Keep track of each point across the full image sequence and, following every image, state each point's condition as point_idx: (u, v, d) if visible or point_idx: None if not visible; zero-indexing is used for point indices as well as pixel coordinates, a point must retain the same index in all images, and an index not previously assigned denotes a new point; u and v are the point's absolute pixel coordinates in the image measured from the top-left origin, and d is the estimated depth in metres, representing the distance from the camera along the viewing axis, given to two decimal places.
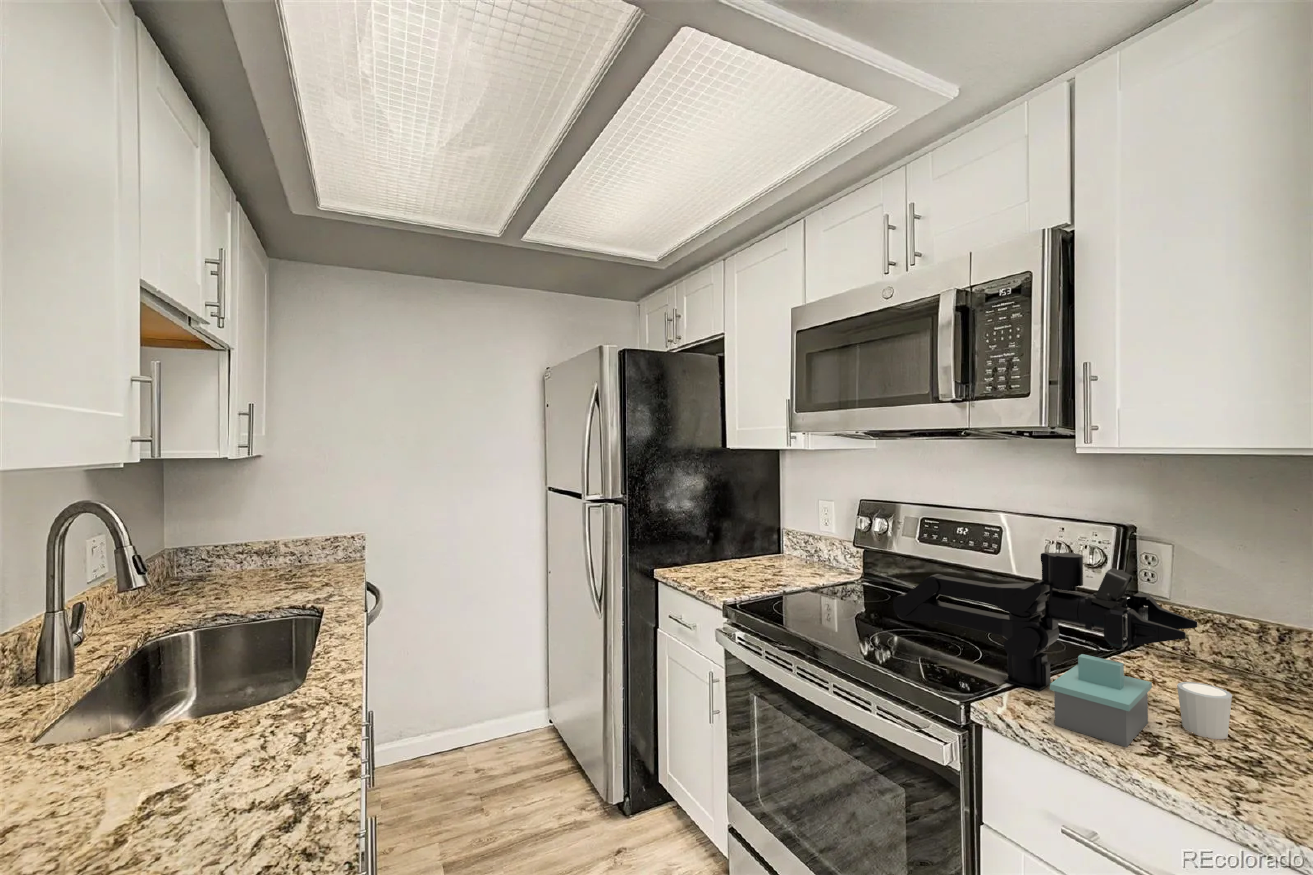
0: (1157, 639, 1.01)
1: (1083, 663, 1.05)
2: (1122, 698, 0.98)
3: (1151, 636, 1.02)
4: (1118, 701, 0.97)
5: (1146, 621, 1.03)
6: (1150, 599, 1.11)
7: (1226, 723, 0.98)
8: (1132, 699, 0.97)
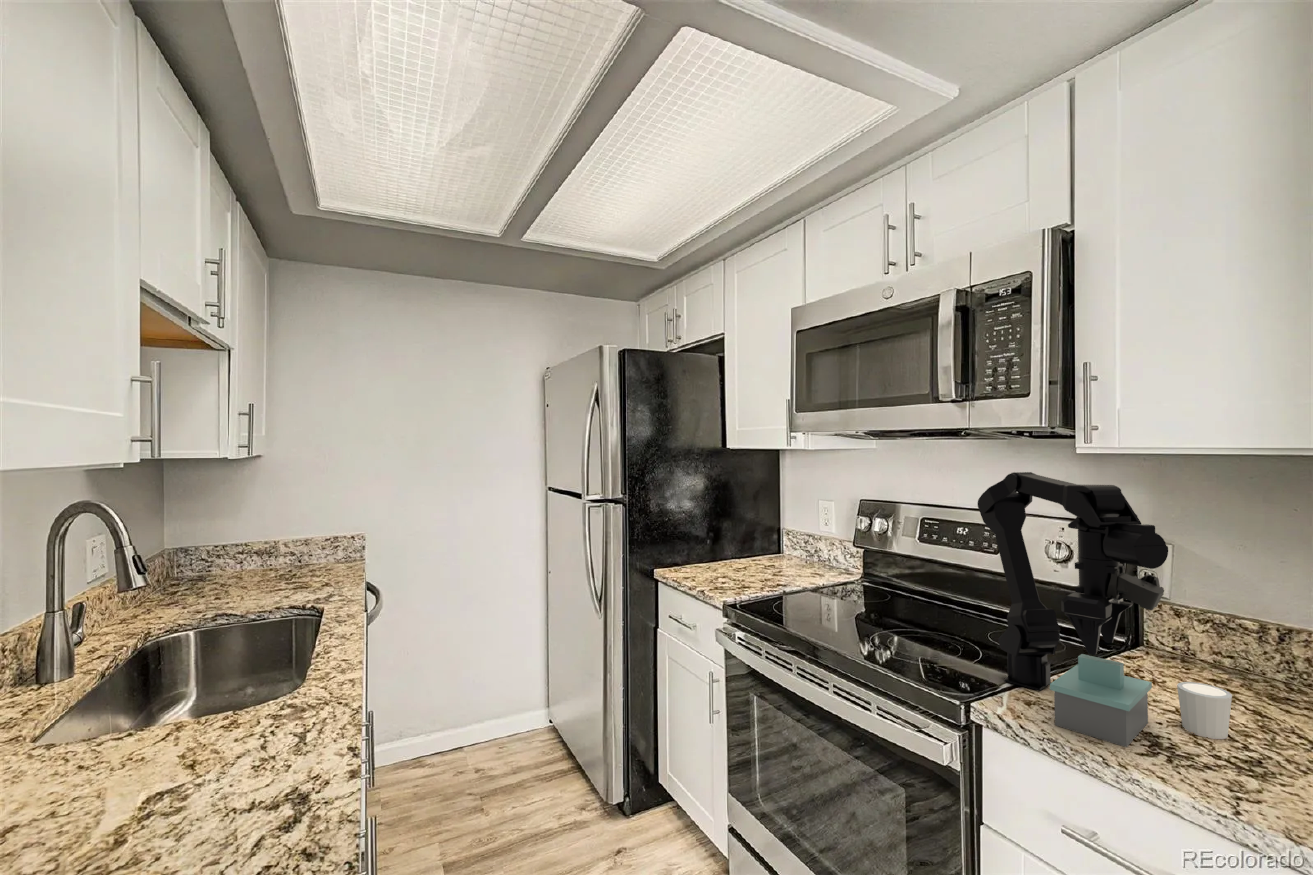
0: (1080, 633, 1.01)
1: (1083, 663, 1.05)
2: (1122, 698, 0.98)
3: (1082, 629, 1.01)
4: (1118, 701, 0.97)
5: (1099, 628, 0.99)
6: (1129, 606, 1.06)
7: (1226, 723, 0.98)
8: (1132, 699, 0.97)
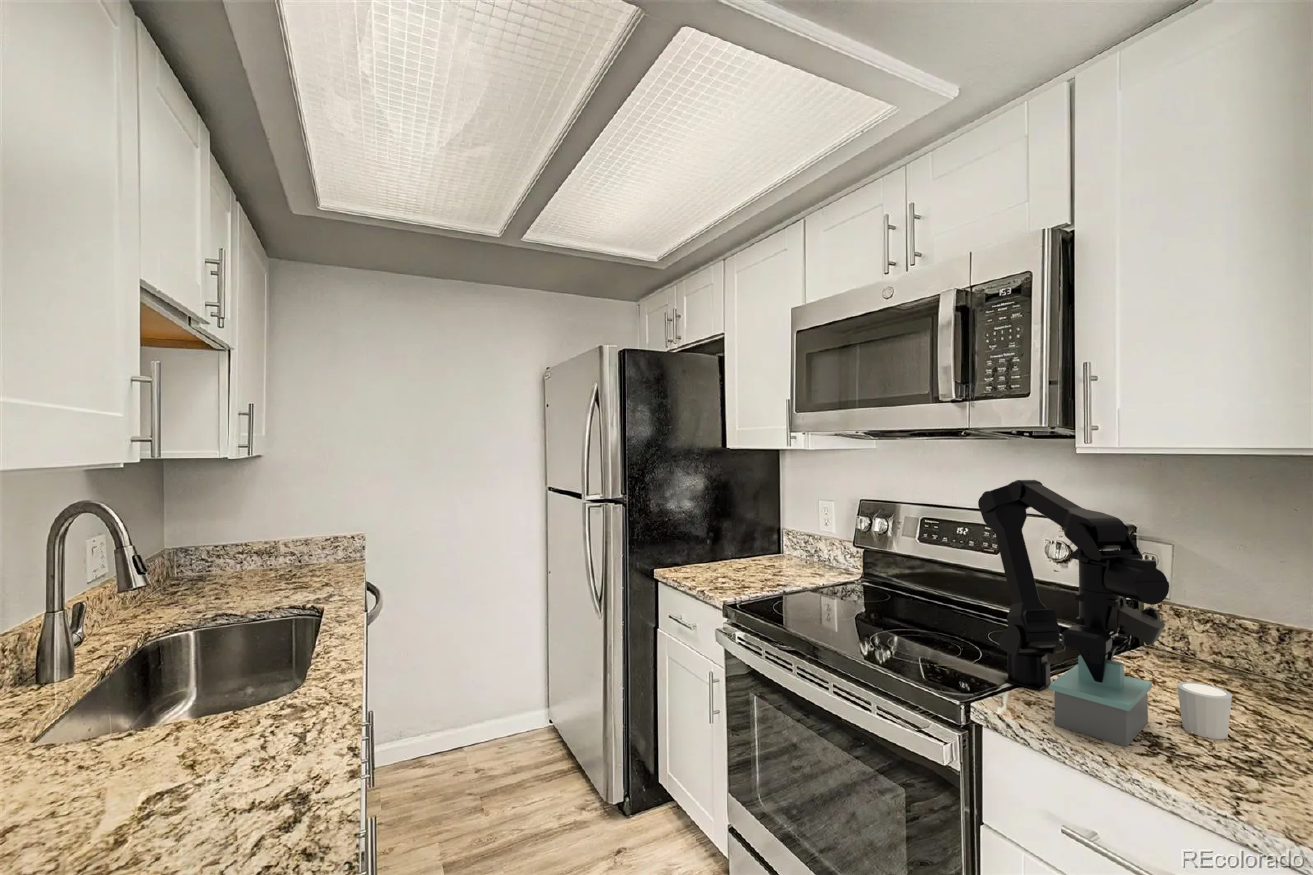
0: (1087, 661, 1.04)
1: (1083, 663, 1.05)
2: (1122, 698, 0.98)
3: (1089, 657, 1.03)
4: (1118, 701, 0.97)
5: (1106, 657, 1.02)
6: None
7: (1226, 723, 0.98)
8: (1132, 699, 0.97)
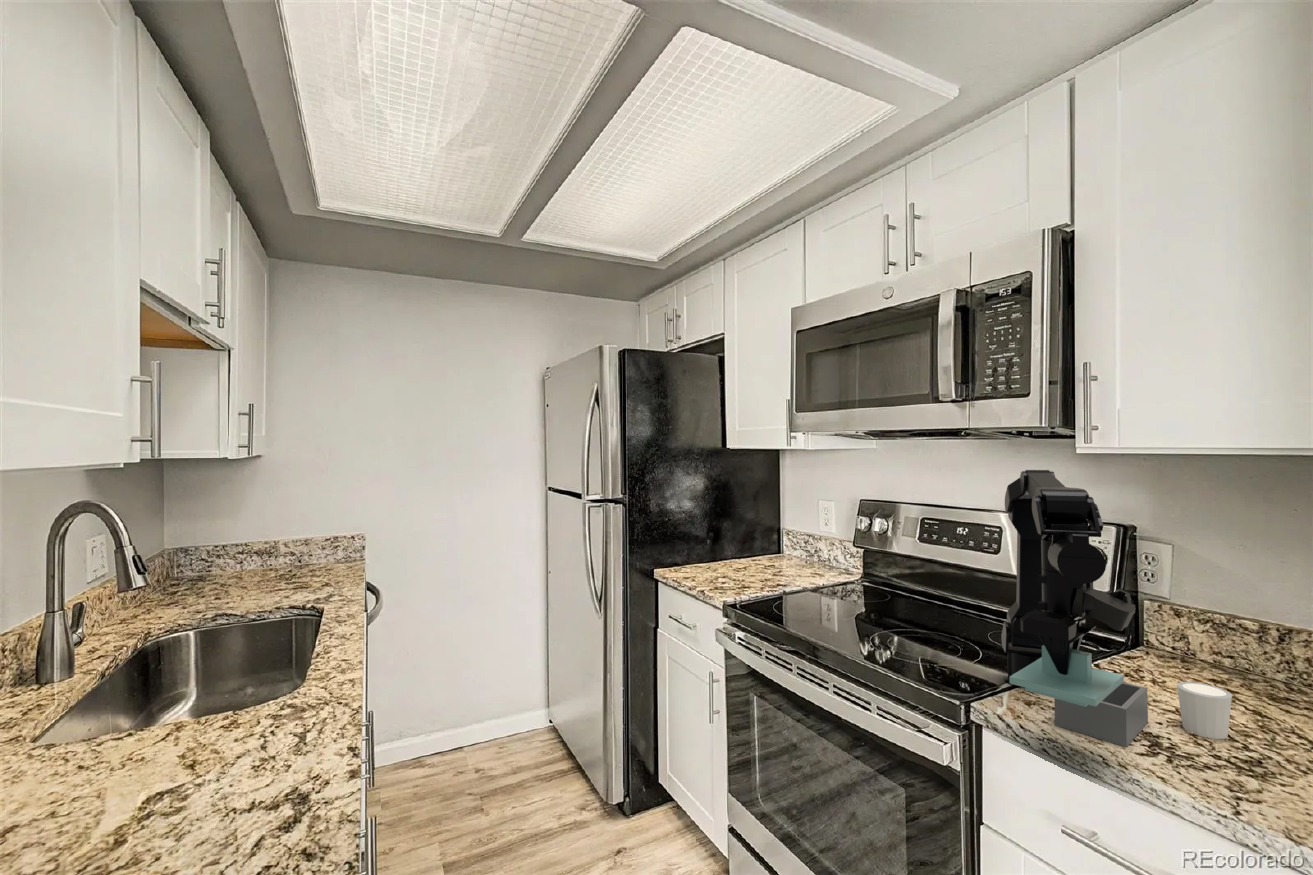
0: (1050, 651, 0.92)
1: (1047, 653, 0.94)
2: (1088, 692, 0.86)
3: (1052, 646, 0.92)
4: (1084, 695, 0.85)
5: (1070, 646, 0.90)
6: (1091, 629, 0.92)
7: (1226, 723, 0.98)
8: (1100, 693, 0.86)
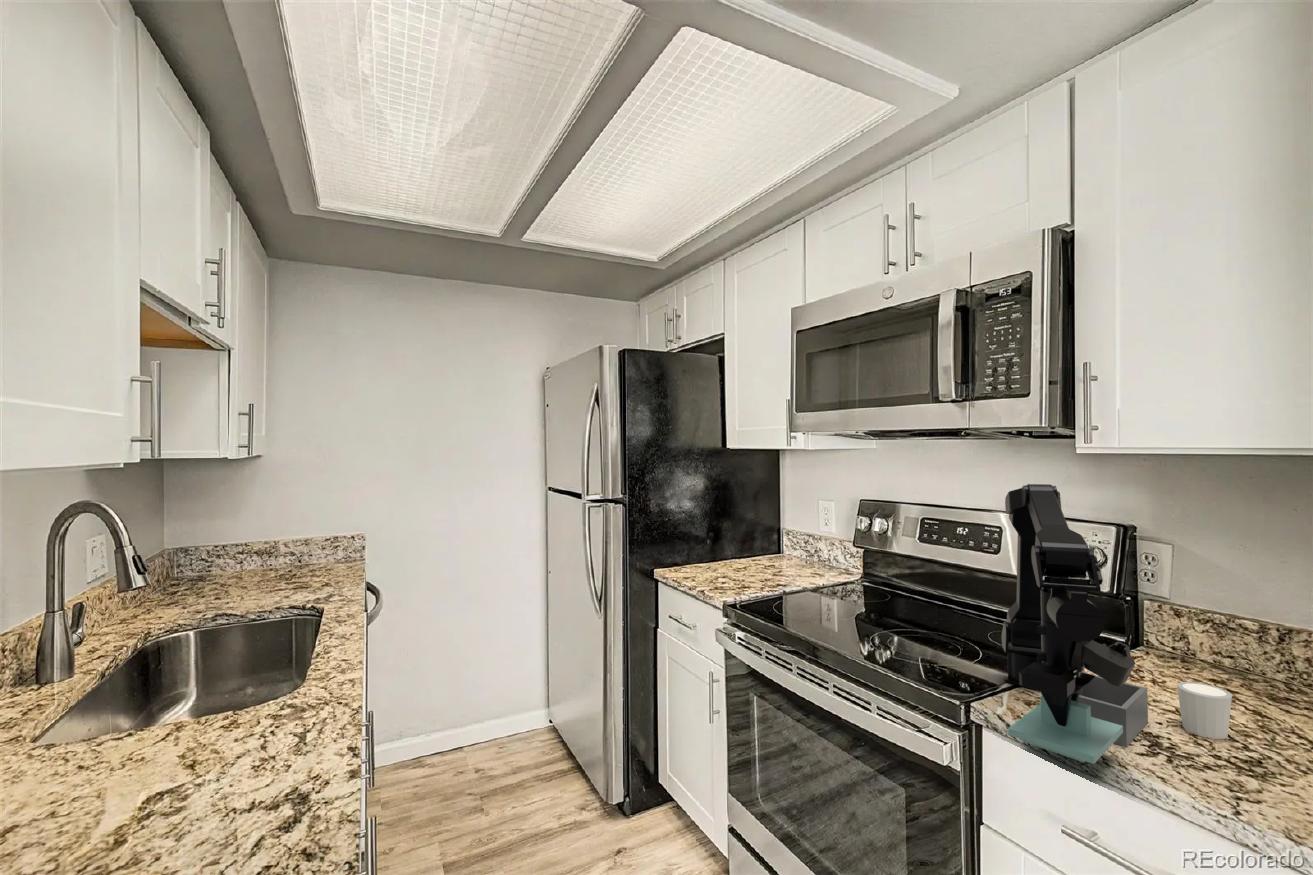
0: (1049, 702, 0.92)
1: (1046, 704, 0.94)
2: (1087, 748, 0.86)
3: (1051, 698, 0.92)
4: (1082, 751, 0.85)
5: (1069, 698, 0.90)
6: (1090, 681, 0.92)
7: (1226, 723, 0.98)
8: (1098, 749, 0.86)
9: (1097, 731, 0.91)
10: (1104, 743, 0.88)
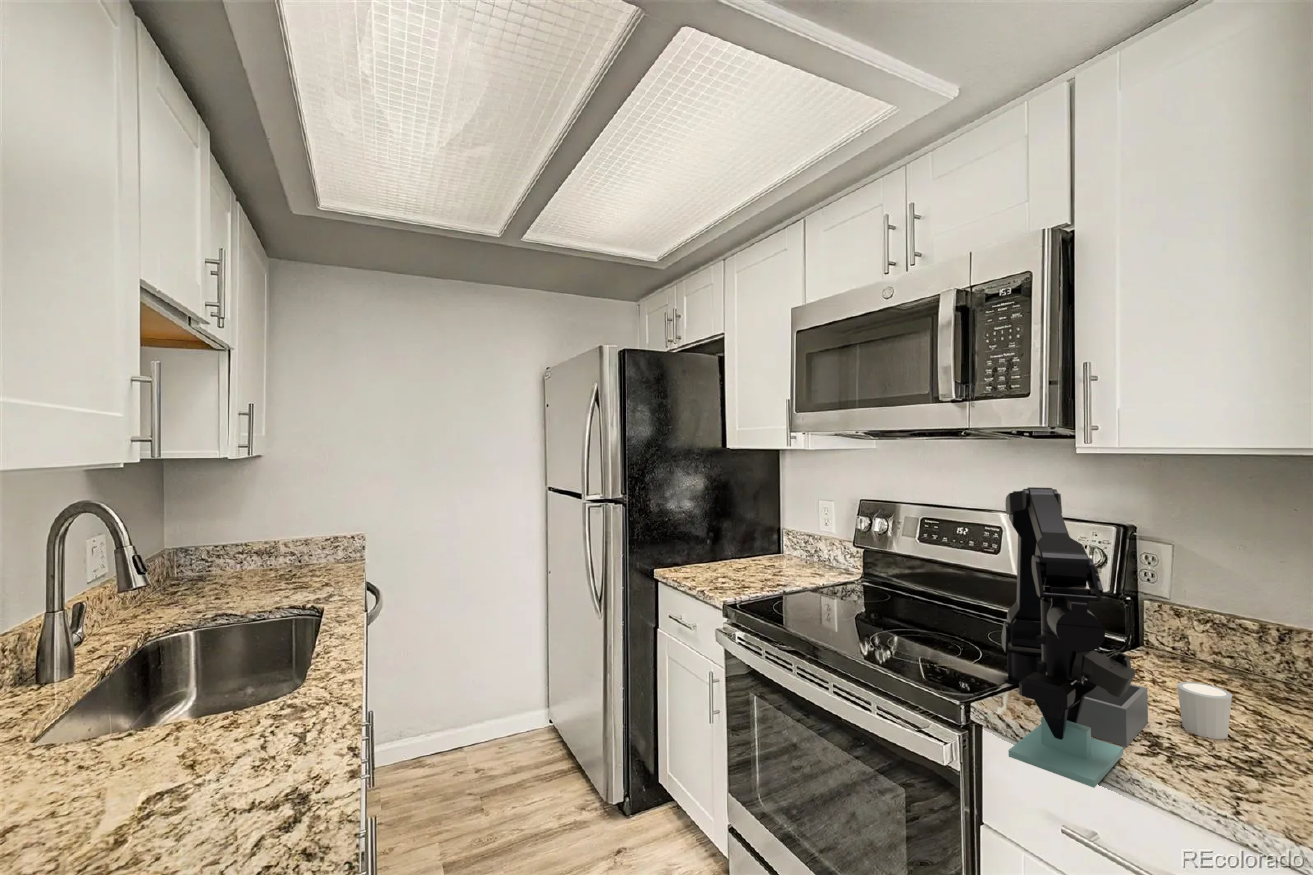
0: (1045, 715, 0.91)
1: (1046, 725, 0.94)
2: (1087, 771, 0.86)
3: (1048, 711, 0.91)
4: (1082, 775, 0.85)
5: (1066, 711, 0.89)
6: None
7: (1226, 723, 0.98)
8: (1099, 772, 0.86)
9: (1097, 753, 0.91)
10: (1104, 766, 0.87)
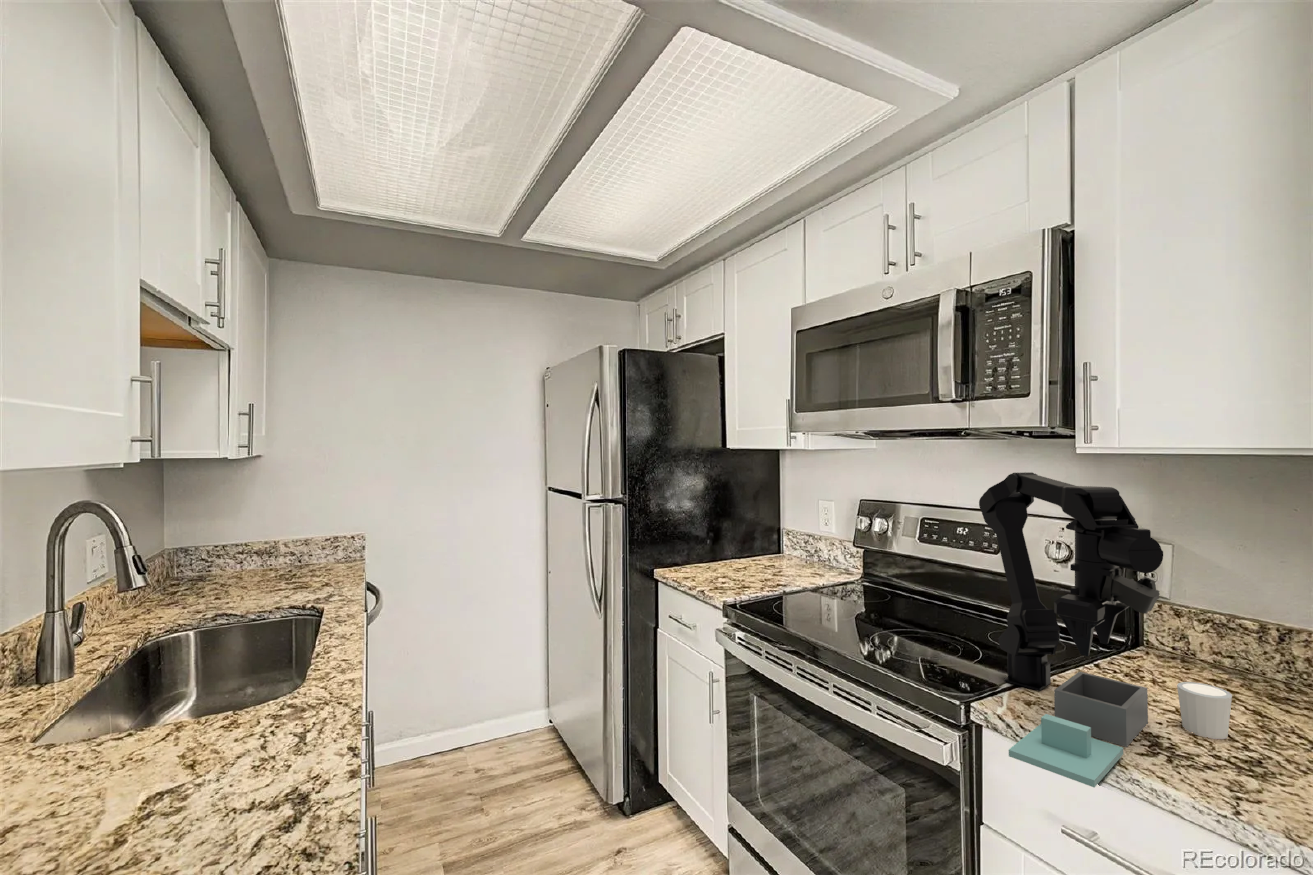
0: (1073, 635, 1.02)
1: (1046, 725, 0.94)
2: (1087, 771, 0.86)
3: (1075, 631, 1.02)
4: (1083, 775, 0.85)
5: (1092, 630, 1.00)
6: (1125, 608, 1.06)
7: (1226, 723, 0.98)
8: (1099, 772, 0.86)
9: (1097, 753, 0.91)
10: (1104, 766, 0.87)
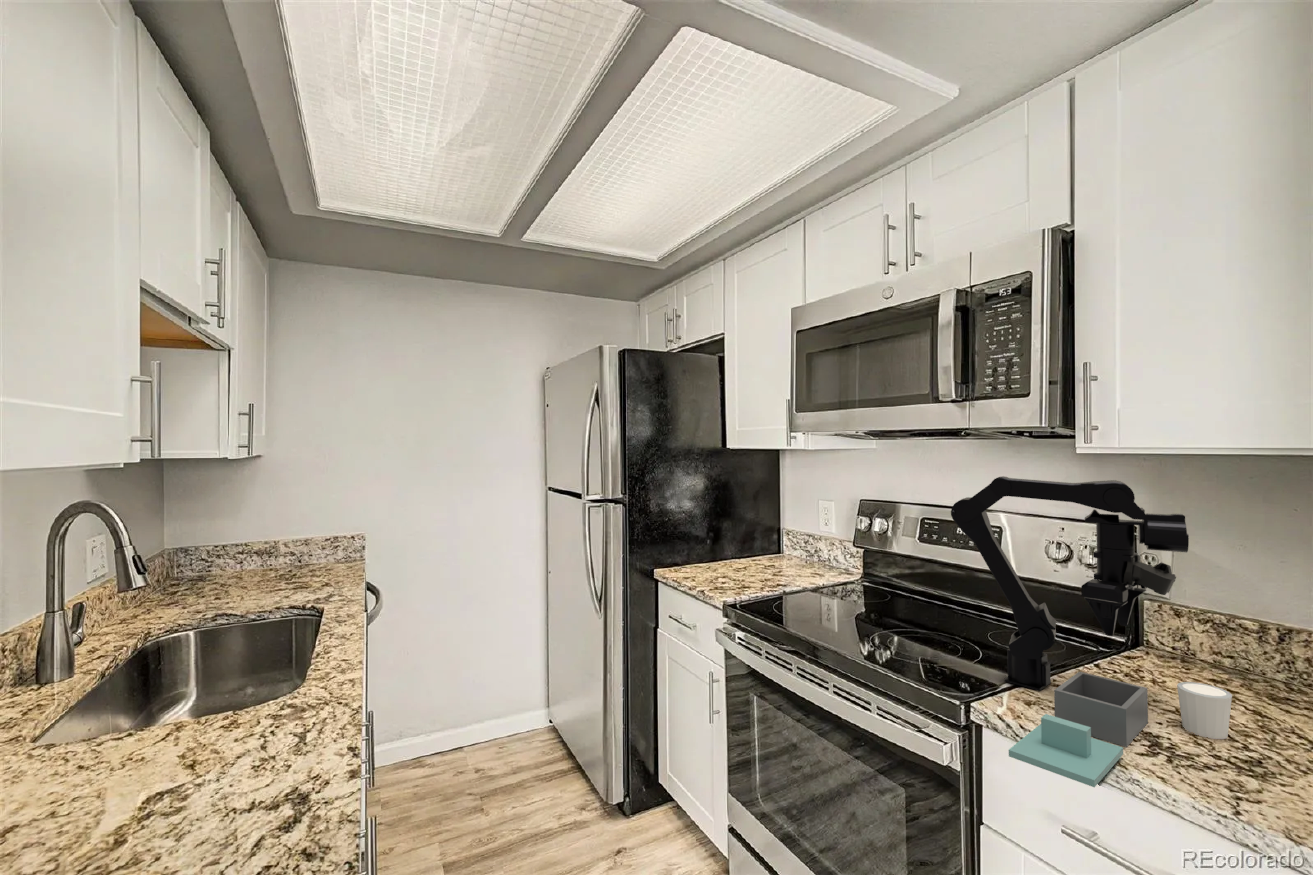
0: (1098, 616, 1.11)
1: (1046, 725, 0.94)
2: (1087, 771, 0.86)
3: (1100, 612, 1.11)
4: (1083, 775, 0.85)
5: (1116, 611, 1.09)
6: (1143, 592, 1.15)
7: (1226, 723, 0.98)
8: (1099, 772, 0.86)
9: (1097, 753, 0.91)
10: (1104, 766, 0.87)
